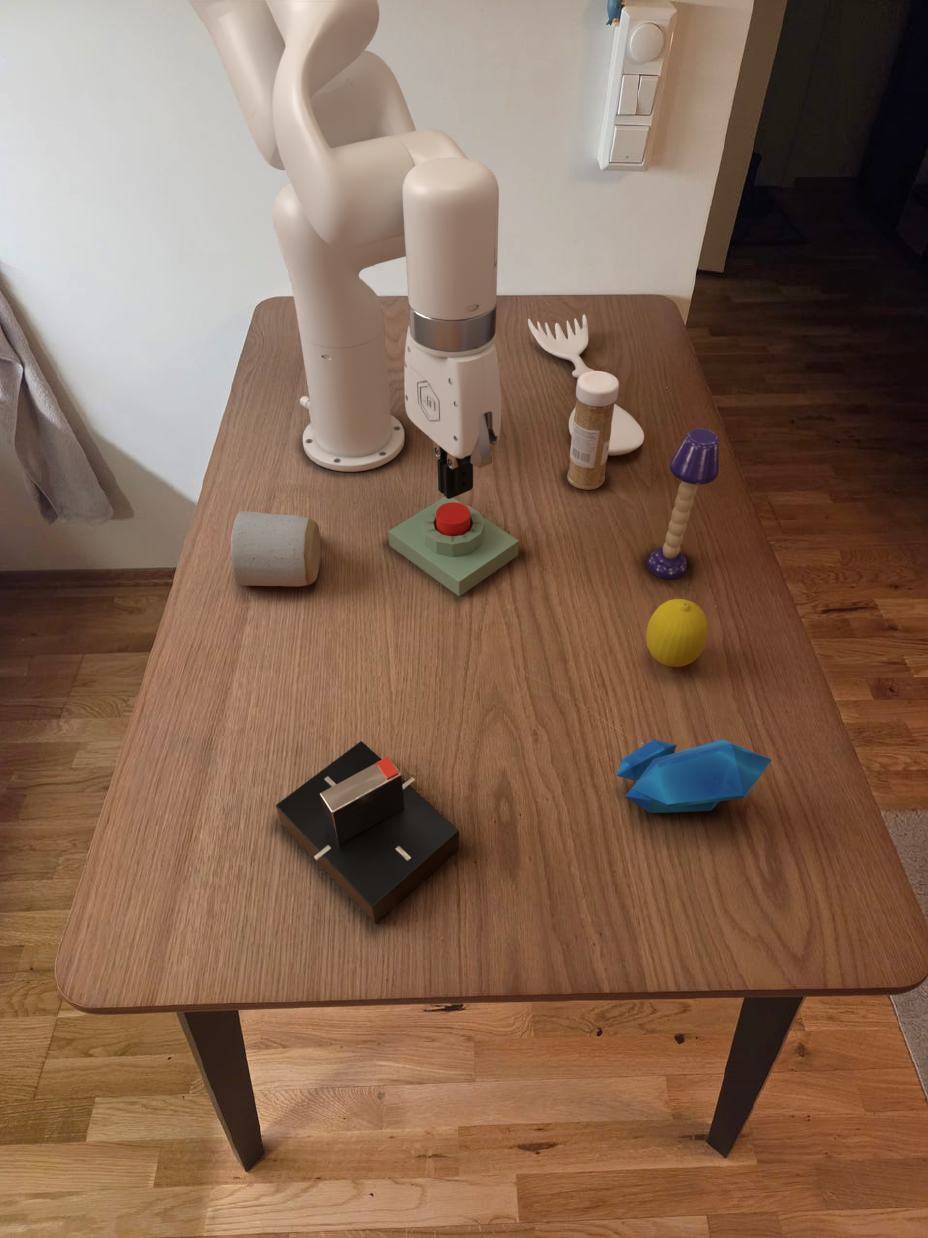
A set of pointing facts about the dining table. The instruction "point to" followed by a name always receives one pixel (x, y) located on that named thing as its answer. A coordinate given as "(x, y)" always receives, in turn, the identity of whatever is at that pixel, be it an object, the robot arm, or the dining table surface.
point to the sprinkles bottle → (592, 429)
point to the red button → (453, 519)
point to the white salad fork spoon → (623, 425)
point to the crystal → (690, 775)
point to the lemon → (677, 632)
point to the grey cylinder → (274, 549)
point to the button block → (454, 548)
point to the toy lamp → (685, 497)
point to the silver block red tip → (363, 800)
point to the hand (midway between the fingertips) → (455, 490)
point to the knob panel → (370, 839)
